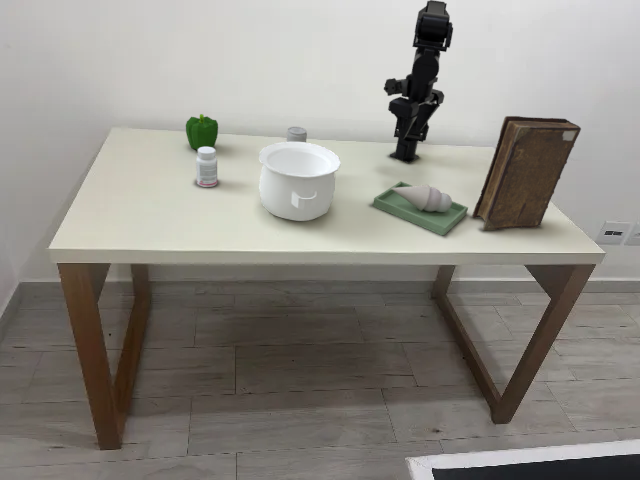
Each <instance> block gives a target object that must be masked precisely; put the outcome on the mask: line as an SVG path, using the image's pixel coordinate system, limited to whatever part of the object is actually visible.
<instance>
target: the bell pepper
mask: <svg viewBox="0 0 640 480" xmlns="http://www.w3.org/2000/svg"><path fill="white" fill-rule="evenodd" d="M218 123H219V122H218V121H217V119H212V118H211V117H210V116H204V114H203V113H200V114H199V117H196V116H190V117H189V119H187V120H186V123H185V133H186V137H187V141H188V144H189V146H190V148H191V149H193V150H196V151H197V152H198V148H200V147H212V148H214V147H215V145H216V142H217V138H218V135H219V124H218Z"/></svg>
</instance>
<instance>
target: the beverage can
mask: <svg viewBox="0 0 640 480" xmlns="http://www.w3.org/2000/svg"><path fill="white" fill-rule="evenodd" d="M307 132H308V131H307V129H306V128H304V127H300V126H291V127H288V128H287V132H286V140H285V142H291V141H292V142H306V143H307V137H308V134H307Z"/></svg>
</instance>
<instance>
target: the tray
mask: <svg viewBox="0 0 640 480" xmlns="http://www.w3.org/2000/svg"><path fill="white" fill-rule="evenodd" d="M410 186H413V185H411V184H410V183H406V182H405V181H399V182H398V183H395V184H394V185H393V186H391V187H390V188H397V187H410ZM390 188H388V189H386V190H385V191H383V192H381V193H380V194H378V195H377V196H375V197H374V198H373V203H372V207H374V208H377V209H379V210H382V211H383V212H386V213H388V214H390V215H393V216H395V217H397V218H400V219H403V220H404V221H408V222H409V223H412V224H414V225H417V226H419V227H422V228H423V229H426V230H428V231H430V232H433V233H435V234H437V235H440V236H445V235H446V234H447V233H448V232H449V231H450V230H452V228H454V227H455V226H456V225H457V224H459V222H460V221H461V220H462V219H464V217H466V216H467V214H468V209H469V207H468V206H465V205H463V204H461V203H458V202H456V201H453V200H452V205H451V207H450V209H449V210H448V211H446V212H437V211H432V212H429V211H425V210H424V209H423V210H419V209H418V208H416V207H415V206H414V205H412V204H411V203H410V202H408V201H407V200H406V199H404V198H403V197H401V196H400V195H399V194H397V193H396V192H395V191H393V190H392V189H390Z"/></svg>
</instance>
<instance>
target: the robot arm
mask: <svg viewBox="0 0 640 480" xmlns="http://www.w3.org/2000/svg"><path fill="white" fill-rule="evenodd" d="M447 5H448V4H447V3H446V2H445V1H441V0H427V1H426V6H424V7H423V8H421V9H420V10H418V12H417V13H418V14H417V17H416V21H415V27H414V36H413V42H412V47H411V48H416V49H415V53H414V58H413V63H412V67H411V73H409V74H407V75H406V76H405V78H401V79H396V78H395V77H392V78H387V79H386V80H385V83H384V87H383V90H384V92H385V93H386V96H388V97H391V96H393V95H401V96H399V97H395V98H393V99H392V100H390V101H389V103H388V108H387V111H389V112H390V113H391V114H392V115H394V116H395V118H396V122H395V128H394V132H393V138H397V142H396V147H395V151H394V152H392V153H390V154H389V157H391V158H393V159H396V160H399V161H402V162H405V163H406V164H411V163H413V162H414V161H417V160H418V159H419V158H420V155H418V154H416V152H417V149H418V144H419V142H421V143H424V141H427V137H428V133H429V129H430V126H429V120H430V119H431V118H432V116H433V115H434V114H435V113H436V111H437V110H438V109H439V108H440V106H441V104H443V103H444V99H445V94H444V92H443V91H442V90H439V89H435V88H434V84H436V83H438V79H439V77H437V76H438V74H439V72H440V58H441V52H442V53H447V50H448V49H450V48H451V44H452V39H453V33H454V27H453V22H452V21H450V20H451V18H450V16H451V15H450V14H449V12H448V11H447Z"/></svg>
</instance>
